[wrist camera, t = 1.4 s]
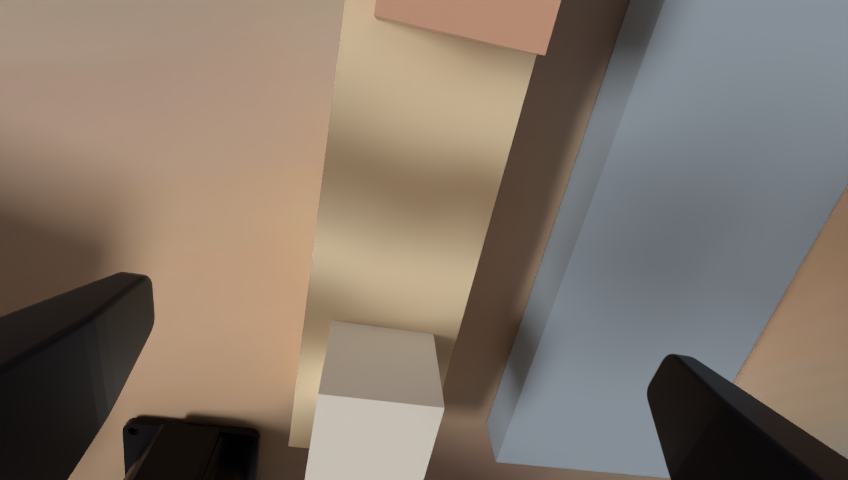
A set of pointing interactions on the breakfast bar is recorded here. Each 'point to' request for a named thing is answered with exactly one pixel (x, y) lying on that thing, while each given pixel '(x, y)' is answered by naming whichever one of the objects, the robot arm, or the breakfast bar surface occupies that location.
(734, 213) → the dock
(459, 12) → the salmon pink cube
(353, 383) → the white cube
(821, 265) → the breakfast bar surface
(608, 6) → the breakfast bar surface
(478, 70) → the tan long bar
